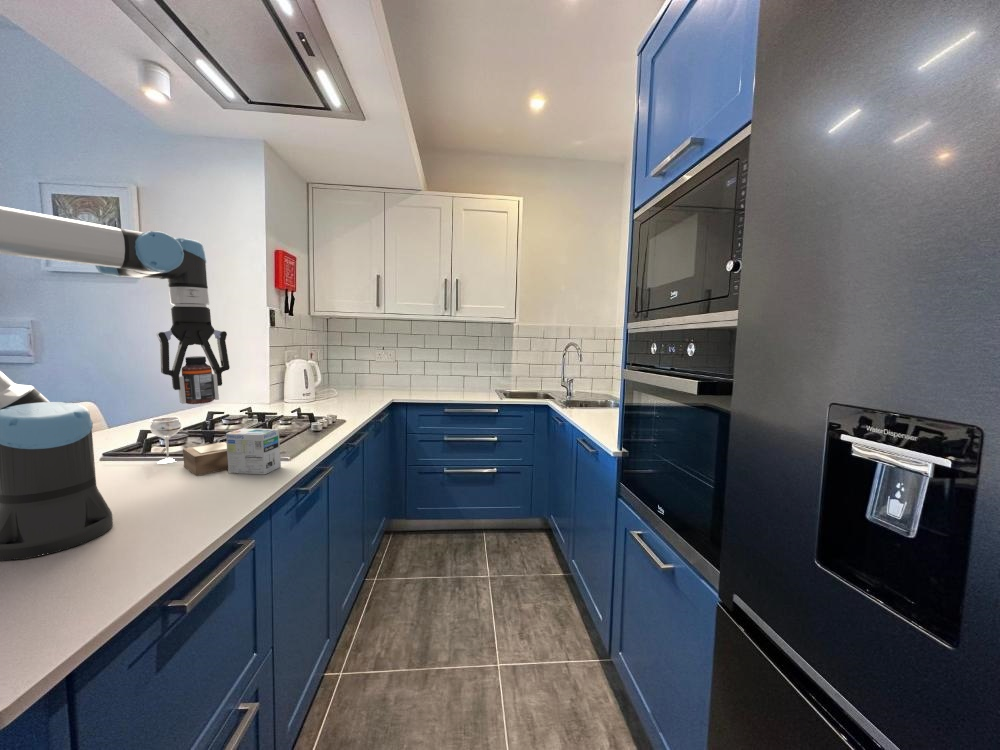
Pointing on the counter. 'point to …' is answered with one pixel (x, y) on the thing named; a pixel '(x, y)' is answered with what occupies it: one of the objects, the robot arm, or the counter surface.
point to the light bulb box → (253, 451)
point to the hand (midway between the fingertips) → (199, 400)
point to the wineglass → (165, 432)
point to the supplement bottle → (198, 380)
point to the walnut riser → (206, 458)
